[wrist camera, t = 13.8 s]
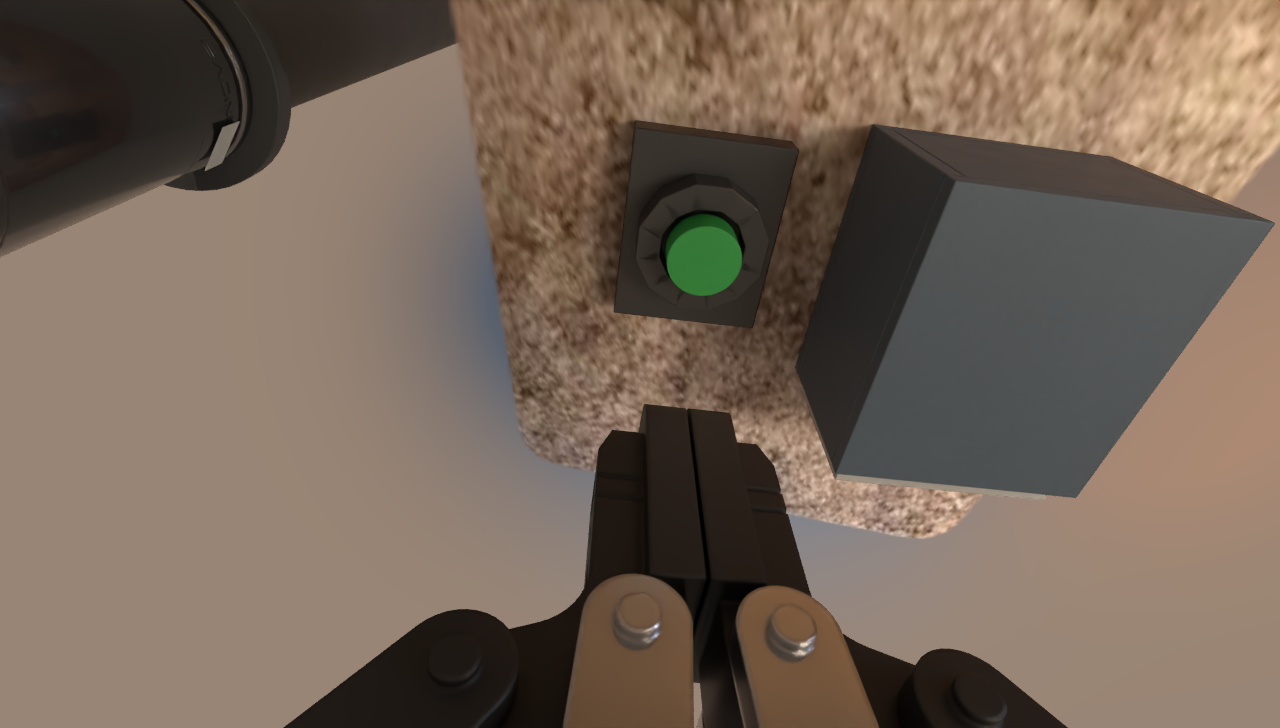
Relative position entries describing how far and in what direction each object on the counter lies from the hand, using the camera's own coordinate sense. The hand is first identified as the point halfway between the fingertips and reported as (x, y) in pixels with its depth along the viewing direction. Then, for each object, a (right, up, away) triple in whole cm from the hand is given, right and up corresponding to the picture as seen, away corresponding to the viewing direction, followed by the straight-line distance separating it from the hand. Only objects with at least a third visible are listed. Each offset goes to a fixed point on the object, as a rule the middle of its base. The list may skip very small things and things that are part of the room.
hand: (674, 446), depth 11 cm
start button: (+2, +7, +19) cm, 21 cm away
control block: (+3, +9, +22) cm, 24 cm away
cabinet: (+16, +7, +23) cm, 29 cm away
